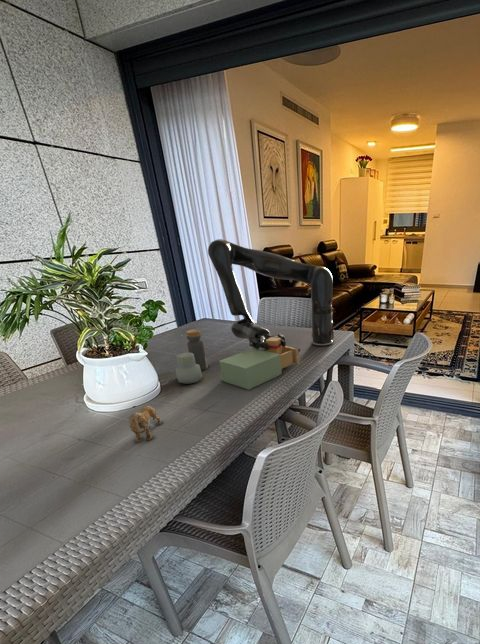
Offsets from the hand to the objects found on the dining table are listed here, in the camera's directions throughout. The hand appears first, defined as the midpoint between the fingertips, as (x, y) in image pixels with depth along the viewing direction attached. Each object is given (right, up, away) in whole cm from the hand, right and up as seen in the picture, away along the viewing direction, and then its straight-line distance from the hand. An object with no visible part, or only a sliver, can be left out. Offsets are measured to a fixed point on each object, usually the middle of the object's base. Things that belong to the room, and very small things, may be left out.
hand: (276, 345), depth 132 cm
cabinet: (-8, -12, -2) cm, 15 cm away
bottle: (-31, -8, +8) cm, 33 cm away
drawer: (0, -6, +6) cm, 9 cm away
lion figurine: (-30, -31, -36) cm, 56 cm away
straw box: (-1, -4, +5) cm, 6 cm away
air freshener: (-31, -14, -4) cm, 34 cm away
